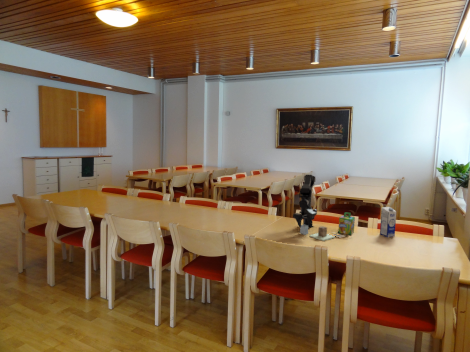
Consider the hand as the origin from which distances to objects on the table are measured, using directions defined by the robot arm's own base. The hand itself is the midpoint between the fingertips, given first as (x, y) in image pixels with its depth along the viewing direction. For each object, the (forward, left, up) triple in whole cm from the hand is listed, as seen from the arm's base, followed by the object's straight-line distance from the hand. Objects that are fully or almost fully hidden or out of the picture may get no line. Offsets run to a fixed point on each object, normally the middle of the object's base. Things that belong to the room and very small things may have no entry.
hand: (304, 226), depth 235 cm
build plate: (+13, +4, -5) cm, 15 cm away
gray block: (0, 0, -6) cm, 6 cm away
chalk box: (+16, +27, -6) cm, 32 cm away
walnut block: (+13, +4, -4) cm, 14 cm away
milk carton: (+37, +45, -6) cm, 58 cm away
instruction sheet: (+16, +16, -5) cm, 23 cm away
